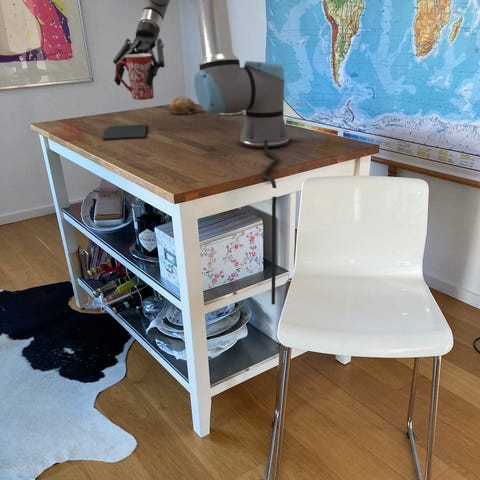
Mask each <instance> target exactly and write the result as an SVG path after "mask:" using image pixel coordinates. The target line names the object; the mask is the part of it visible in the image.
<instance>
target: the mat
mask: <svg viewBox="0 0 480 480" xmlns="http://www.w3.org/2000/svg"><path fill="white" fill-rule="evenodd" d="M147 127H148V124H130V125H112V126H107V128H106V130H105V132H104V135H103V137H102V140H103V141H113V140H117V141H118V140H134V139H145V138H146V134H147Z"/></svg>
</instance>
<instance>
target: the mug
mask: <svg viewBox="0 0 480 480" xmlns="http://www.w3.org/2000/svg"><path fill="white" fill-rule="evenodd" d="M151 57H152V55H151V54H150V55H149V53H147V54H145V53H142V54H131V55H126V56H125V58H126V62H124V61H120V62H118V63H117V64H116V65H115V70H116V73H117V76H118V78H119V79H120V81H121V84H122V85H123V86H124V87H125V88H126V89H127V91H129V92H130V93H131V97H132V99H133V100H137V101H144V100H145V101H147V100H152V99H153V98H154V97H155V96H154V95H155V93H154V81H153V82H152V85H151V86H149V85H148V84H147V82H146V78H147V75H148V72H149V68H150V65H151V64H153V62H152V58H151ZM120 64H123V65H124V68H125V69H126V71H127V73H128V80H129V85H130V86H129V85H128V84H127V83H126V82H125V80H124V79H123V77H122V78H121V76H120V74H119V71H118V66H119V65H120ZM116 73H115V74H116Z"/></svg>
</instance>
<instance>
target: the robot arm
mask: <svg viewBox="0 0 480 480" xmlns="http://www.w3.org/2000/svg"><path fill="white" fill-rule="evenodd" d="M170 1H171V0H145V1H144V4H143V8H142V11H141V14H140V17H139V21H138V24H137V27H136V30H135V38H134V39H133V40H130V39H129V38H126V39H125V42H124V44H123V45H122V47H121V49H120V50H119V51H118V52H117V53H116V55H115V56H114V58H113V60H112V62H113V63H114V65H115V66H116V64H117V63H118V62H120V61H124V62H126V58H125V56H126V55H131V54H149V55H150V54H151V55H152V57H151V58H152V64H151V65H150V68H149V72H148V75H147V78H146V82H147V84H148V85H149V86H151V85H152V82H153V83H154V79H155V77H156V76H157V74H158V71H159V69H160V68H165V67H166V66H165V65H166V64H165V57H164V46H165V44H164V42H163V40H162V39H161V38H159V36H160V33H161V28H162V26H163V22H164V18H165V15H166V13H167V9H168V6H169V4H170ZM195 7H196V14H197V21H198V28H199V36H200V43H201V50H202V57H203V58H202V59H201V61H200V63H199V64H198V67H199V70H197V71H196V73H195V74H194V82H193V83H194V84H193V85H194V92H195V95H196V98H197V101H198V103H199V105H200V107H201V108H202V109H203V111H204V112H206V113H207V114H211V115H212V114H218V113H219V114H218V115H220V114H222V113H226V112H234V111H242V112H243V111H245V120H244V123H243V127H242V130H241V133H240V139H239V140H240V145H241V146H243V147H246V148H251V149H264V153H265V155H266V156H268V157H269V158H271V159H273V160H272V161H271V162H270V163H269V164H268V165H267V166H266V167H265V168H264V170H263V171H262V173H261V178H262V179H263V180H265V181H269V182H270V183H271V187H272V189H277V183H276V180H275V179H274V178H273V177H272V176H270V175H266V174H267V173H268V172H269V171H270V170H271V168H272V167H274V166H275V165H276V164H277V163H278V159H279V158H278V156H277V155H276V154H273V153H271V152H270V151H269V149H275V148H276V149H277V148H282V147H285V146H287V145H288V144H289V141H290V137H289V132H288V129H287V125H286V122H285V119H284V104H285V103H284V101H285V97H284V96H285V83H286V82H285V81H286V80H285V69H284V68H283V66H282V65H281V64H278V63H272V62H262V61H252V60H246V61H245V62H244V64H243V67H241V65H240V64H241V62H240V58H239V57H237V55H235V54H234V50H233V42H232V41H233V40H232V33H231V23H230V15H229V8H228V0H195ZM154 48H156V52H157V53H156V54H157V58H156V56H155V53H154V51H153V49H154ZM157 59H158V60H157ZM125 69H126V68H125V66H124V65H123V64H120V65H119V66H118V71H119V74H120V76H121V78H122V79H123V77H124V73H125ZM114 73H115V76H114V78H113V81H114V83H115V84H116V85H117V86H121V84H122V82H121V81H120V79H119V78H118V76H117V73H116V69H115V71H114ZM271 199H272V201H271V305H273V306H274V305H276V260H277V259H276V256H277V255H276V253H277V250H276V249H277V248H276V247H277V246H276V245H277V229H276V228H277V196H272V198H271Z"/></svg>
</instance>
